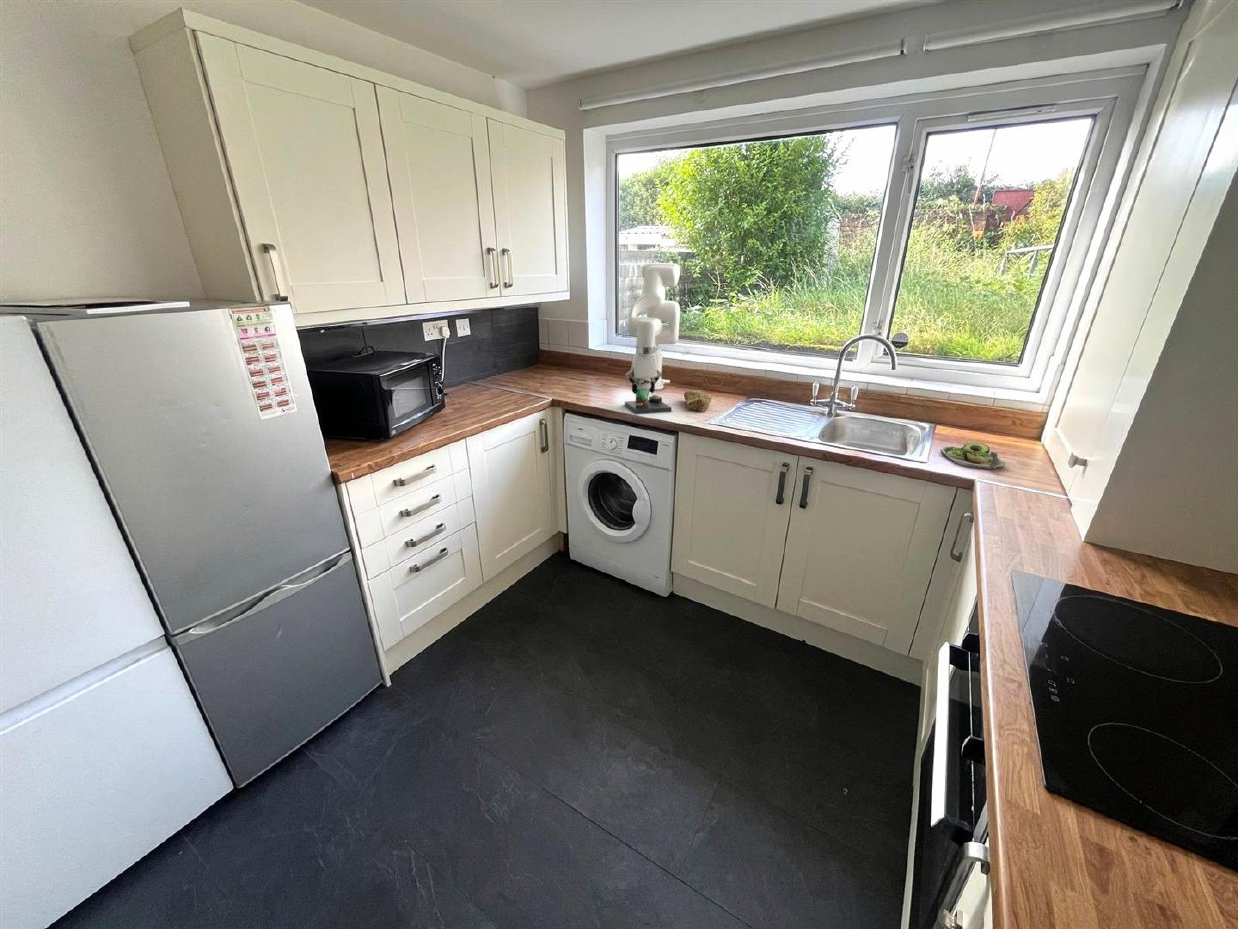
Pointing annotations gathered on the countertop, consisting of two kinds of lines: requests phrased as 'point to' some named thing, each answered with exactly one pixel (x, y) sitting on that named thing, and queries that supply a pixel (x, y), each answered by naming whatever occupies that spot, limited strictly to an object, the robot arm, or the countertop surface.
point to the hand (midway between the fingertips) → (643, 392)
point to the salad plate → (973, 456)
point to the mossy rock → (697, 400)
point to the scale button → (655, 396)
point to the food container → (642, 392)
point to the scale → (649, 406)
